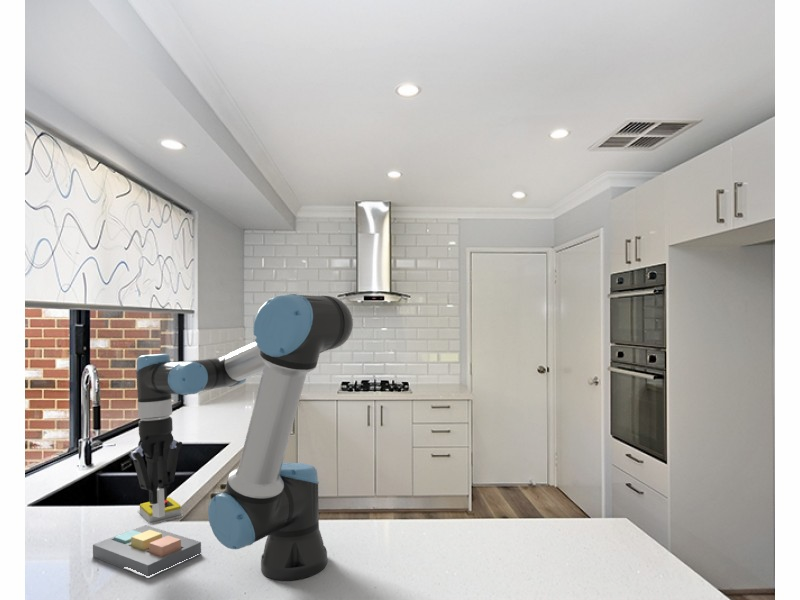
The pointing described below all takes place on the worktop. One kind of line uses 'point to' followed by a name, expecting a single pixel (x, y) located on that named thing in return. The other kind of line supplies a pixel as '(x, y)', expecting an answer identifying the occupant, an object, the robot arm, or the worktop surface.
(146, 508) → the emergency button
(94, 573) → the worktop surface
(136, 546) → the yellow button
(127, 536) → the teal button
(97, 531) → the worktop surface
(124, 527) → the worktop surface
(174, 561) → the button panel
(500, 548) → the worktop surface
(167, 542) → the terracotta button
